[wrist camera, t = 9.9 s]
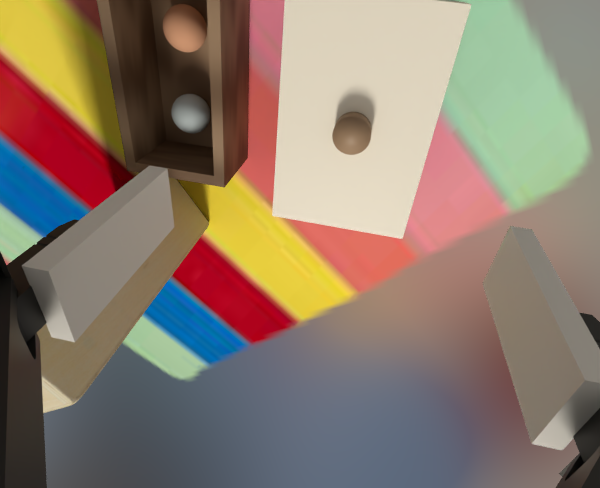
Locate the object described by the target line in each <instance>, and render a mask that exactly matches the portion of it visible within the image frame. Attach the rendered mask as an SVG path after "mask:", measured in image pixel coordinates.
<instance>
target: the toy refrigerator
mask: <svg viewBox="0 0 600 488" xmlns="http://www.w3.org/2000/svg"><path fill="white" fill-rule="evenodd" d="M169 185H170V193H171V202H172V210H173V219H174V228H173V229H172V230H171V231H170V233H169V234H168V235H167V236H166V237H165V238H164V240H163V241H162V242H161V243H160V244H159V245H158V247H157V248H156V249H155V250H154V251H153V252H152V253H151V255H150V256H149V257H148V258H147V259H146V260H145V262H144V263H143V264H142V265H141V266H140V267H139V269H138V270H137V271H136V272H135V273H134V274H133V276H132V277H131V278H130V279H129V280H128V281H127V283H126V284H125V285H124V286H123V287H122V288H121V290H120V291H119V292H118V293H117V294H116V295H115V296H114V298H113V299H112V300H111V301H110V302H109V303H108V305H107V306H106V307H105V308H104V309H103V310H102V312H101V313H100V314H99V315H98V316H97V317H96V319H95V320H94V321H93V322H92V323H91V324H90V326H89V327H88V328H87V329H86V330H85V331H84V333H83V334H82V335H81V336H80V337H79V338H78V339H77V341H76V342H71V341H67V340H62V339H57V338H53V337H51V335H50V332H49V330H48V327H47V325H46V324H45V325H44V326H43V327H42V328H41V329H40V330H39V331H38V332H37V335H38V337H39V339H40V352H41V374H42V396H43V413H45V412H49V411H52V410H56V409H60V408H63V407H67V406H70V405H73V404H74V403H76V402H77V401H78V400H79V399H80V398H81V397H82V396H83V394H84V393H85V392H86V390H87V389H88V388H89V387H90V385H91V384H92V382H93V381H94V380H95V378H96V377H97V376H98V374H99V373H100V372H101V370H102V369H103V368H104V366H105V365H106V363H107V362H108V361H109V359H110V358H111V357H112V355H113V354H114V353H115V351H116V350H117V349H118V347H119V346H120V345H121V343H122V342H123V341H124V339H125V338H126V336H127V335H128V334H129V332H130V331H131V330H132V328H133V327H134V325H135V324H136V323H137V321H138V320H139V319H140V317H141V316H142V315H143V313H144V312H145V311H146V309H147V308H148V306H149V305H150V304H151V302H152V301H153V300H154V298H155V297H156V296H157V294H158V293H159V292H160V290H161V289H162V288H163V286H164V285H165V284H166V282H167V281H168V280H169V278H170V277H171V276H172V274H173V273H174V272H175V270H176V269H177V268H178V266H179V265H180V264H181V262H182V261H183V260H184V258H185V257H186V256H187V254H188V253H189V251H190V250H191V249H192V248H193V246H194V245H195V243H196V242H197V241H198V239H199V238H200V237H201V235H202V234H203V233H204V231H205V230H206V229H207V227H208V225H209V222H208V221H207V219H206V218H205V217H204V215H203V214H202V213H201V211H200V210H199V209H198V207H197V206H196V205H195V203H194V202H193V200H192V199H191V198H190V197H189V195H188V194H187V192H186V191H185V190H184V189H183V187H182V186H181V185H180V183H179V182H178V181H177V179H174V178H169Z"/></svg>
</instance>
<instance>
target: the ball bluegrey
mask: <svg viewBox="0 0 600 488" xmlns="http://www.w3.org/2000/svg"><path fill="white" fill-rule="evenodd" d="M171 112H172V118H173V121H174V123H175V124H176V126H177V127H178V128H179V129H181V130H182V131H184V132H187V133H198V132H201V131H202V130H204V129H205V128H206V127H207V125H208V124H209V121H210V109H209V106H208V105H207V103H206V102H205V101H204V100H203V99H202V98H201V97H199V96H197V95H195V94H184V95H181V96H180V97H178V98H177V99H176V100H175V102H174V103H173V106H172V111H171Z"/></svg>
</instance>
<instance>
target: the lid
mask: <svg viewBox="0 0 600 488" xmlns="http://www.w3.org/2000/svg"><path fill="white" fill-rule="evenodd" d="M470 8H471V4H468V3H465V2H458V1H449V0H285V5H284V22H283V40H282V57H281V75H280V93H279V110H278V128H277V145H276V163H275V180H274V198H273V215H272V216H276V217H282V218H288V219H293V220H299V221H305V222H310V223H316V224H321V225H327V226H333V227H338V228H344V229H350V230H355V231H361V232H366V233H372V234H378V235H383V236H389V237H395V238H400V239H402V238H403V235H404V232H405V228H406V225H407V222H408V218H409V215H410V211H411V208H412V205H413V201H414V198H415V194H416V191H417V188H418V184H419V181H420V177H421V174H422V171H423V167H424V164H425V160H426V157H427V154H428V150H429V147H430V143H431V140H432V137H433V133H434V130H435V126H436V123H437V120H438V116H439V113H440V109H441V106H442V103H443V99H444V96H445V93H446V89H447V86H448V82H449V79H450V76H451V72H452V69H453V65H454V62H455V59H456V55H457V52H458V48H459V45H460V42H461V38H462V35H463V31H464V28H465V25H466V21H467V18H468V14H469V11H470Z"/></svg>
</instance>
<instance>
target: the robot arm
mask: <svg viewBox="0 0 600 488" xmlns="http://www.w3.org/2000/svg"><path fill="white" fill-rule="evenodd" d="M173 228H174V219H173V210H172V202H171V193H170V185H169V177H168V169H167V168H161V167H155V166H148V167H147V168H146V169H144V170H143V171H142V172H140V173H139V174H138V175H137V176H135V177H134V178H133V179H132V180H130V181H129V182H128V183H126V184H125V185H124V186H123V187H121V188H120V189H119V190H118V191H116V192H115V193H114V194H112V195H111V196H110V197H109V198H107V199H106V200H105V201H104V202H102V203H101V204H100V205H98V206H97V207H96V208H95V209H93V210H92V211H91V212H90V213H88V214H87V215H86V216H84V217H83V218H82V219H81V220H72V221H70V222H67V223H65V224H63V225H60V226H58V227H57V228H56V229H54V230H53V231H52V232H50V233H49V234H48V235H47V237H44V238H42V239H41V240H40V241H38V242H37V244H36V245H35V244H34V245H33V246H32V247H30V248H29V249H28V250H26V251H25V252H24V253H22V254H21V255H20V256H18V257H17V258H16V259H14V260H13V261H12V262H10V263H9V264H8V265H6V263H5V261H4V259H3V257H2V254H1V252H0V488H47V484H46V462H45V441H44V419H43V396H42V374H41V352H40V339H39V337H38V335H37V332H38V331H39V330H40V329H41V328H42V327H43V326H44V325H45V324H46V325H47V327H48V330H49V332H50V335H51V337H53V338H57V339H62V340H67V341H71V342H76V341H77V339H78V338H79V337H80V336H81V335H82V334H83V333H84V331H85V330H86V329H87V328H88V327H89V326H90V324H91V323H92V322H93V321H94V320H95V319H96V317H97V316H98V315H99V314H100V313H101V312H102V310H103V309H104V308H105V307H106V306H107V305H108V303H109V302H110V301H111V300H112V299H113V298H114V296H115V295H116V294H117V293H118V292H119V291H120V290H121V288H122V287H123V286H124V285H125V284H126V283H127V281H128V280H129V279H130V278H131V277H132V276H133V274H134V273H135V272H136V271H137V270H138V269H139V267H140V266H141V265H142V264H143V263H144V262H145V260H146V259H147V258H148V257H149V256H150V255H151V253H152V252H153V251H154V250H155V249H156V248H157V247H158V245H159V244H160V243H161V242H162V241H163V240H164V238H165V237H166V236H167V235H168V234H169V233H170V231H171V230H172V229H173ZM483 286H484V290H485V293H486V296H487V299H488V303H489V306H490V309H491V312H492V316H493V319H494V322H495V325H496V328H497V332H498V335H499V339H500V342H501V345H502V348H503V352H504V355H505V358H506V361H507V365H508V368H509V371H510V375H511V378H512V381H513V384H514V388H515V390H516V394H517V397H518V401H519V404H520V407H521V410H522V414H523V417H524V420H525V423H526V427H527V430H528V433H529V436H530V440H531V443H532V444H535V445H540V446H544V447H549V448H554V449H558V450H563V449H564V448H565V447H566V446H567V445H568V444H569V442H570V441H571V440H572V439H573V438H574V440H575V442H576V445H577V447H578V450H579V452H580V453H579V454H578V455H577V456H576V457H575V459H573V460H572V462H570V463H569V464H568V465H567V466H566V467H565V468H564V469H563V470H562V472H560V473H559V474H560V475H561V476H562V479H561V480H560V482H559V483H558V485H557V487H556V488H600V322H599V321H598V320H597V319H596V318H595V317H593V316H592V315H589V314H584V313H579V312H578V310H577V308H576V306H575V305H574V303H573V301H572V299H571V298H570V296H569V294H568V293H567V290H566V289H565V287H564V285H563V283H562V282H561V280H560V278H559V276H558V275H557V273H556V271H555V269H554V268H553V266H552V264H551V262H550V260H549V259H548V257H547V255H546V253H545V252H544V250H543V248H542V246H541V245H540V243H539V241H538V239H537V238H536V236H535V234H534V232H533V231H532V229H526V228H520V227H514V226H510V227H509V229H508V231H507V233H506V235H505V237H504V240H503V242H502V244H501V246H500V248H499V250H498V252H497V254H496V256H495V259H494V260H493V263H492V265H491V267H490V269H489V271H488V273H487V275H486V277H485V279H484V281H483Z"/></svg>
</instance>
